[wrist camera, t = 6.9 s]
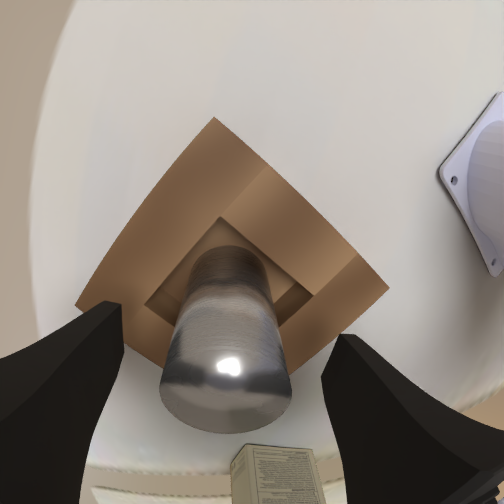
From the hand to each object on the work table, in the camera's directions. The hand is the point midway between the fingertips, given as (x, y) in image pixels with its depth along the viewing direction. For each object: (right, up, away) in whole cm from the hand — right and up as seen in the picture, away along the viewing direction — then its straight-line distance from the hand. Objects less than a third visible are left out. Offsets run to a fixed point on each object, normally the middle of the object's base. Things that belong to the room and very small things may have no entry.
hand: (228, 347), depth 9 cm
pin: (0, +2, +5) cm, 5 cm away
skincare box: (+2, -14, +12) cm, 19 cm away
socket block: (0, +2, +5) cm, 5 cm away
